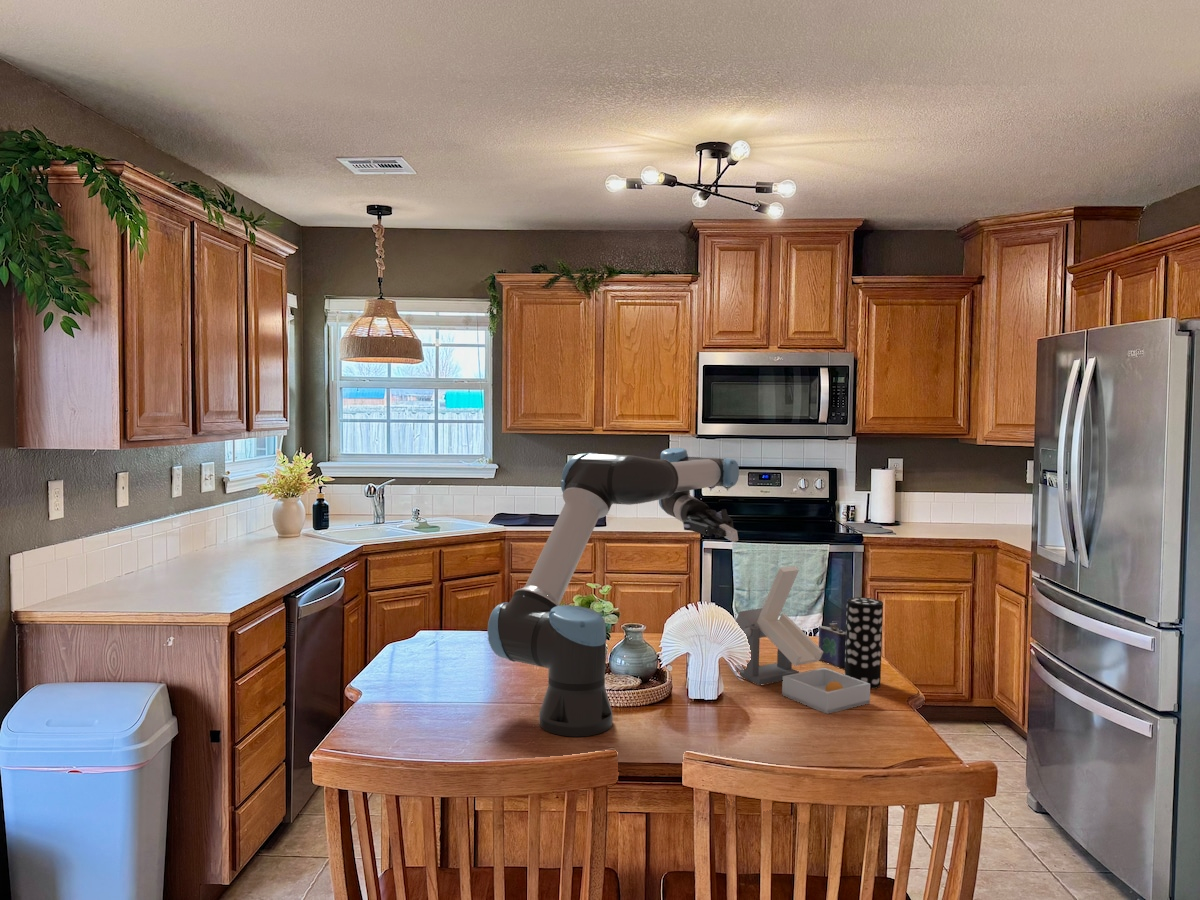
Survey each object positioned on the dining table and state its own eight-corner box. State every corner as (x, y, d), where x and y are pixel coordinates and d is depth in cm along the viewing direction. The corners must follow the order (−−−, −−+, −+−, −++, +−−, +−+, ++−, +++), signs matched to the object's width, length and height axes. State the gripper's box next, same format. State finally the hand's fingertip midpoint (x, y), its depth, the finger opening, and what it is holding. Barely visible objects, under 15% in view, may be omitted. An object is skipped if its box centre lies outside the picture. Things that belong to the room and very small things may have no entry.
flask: (815, 659, 223) (817, 619, 222) (824, 658, 224) (825, 618, 224) (841, 669, 215) (842, 627, 214) (849, 668, 216) (851, 626, 216)
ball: (838, 675, 190) (828, 683, 193) (829, 682, 187) (818, 690, 190) (850, 690, 188) (840, 698, 191) (841, 697, 186) (830, 705, 188)
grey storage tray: (869, 703, 189) (870, 683, 189) (827, 714, 182) (827, 693, 182) (823, 686, 201) (824, 667, 201) (782, 695, 194) (782, 676, 193)
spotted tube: (882, 690, 199) (885, 606, 198) (845, 687, 200) (848, 603, 200) (878, 679, 207) (880, 598, 206) (842, 676, 209) (845, 596, 208)
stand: (801, 676, 208) (802, 624, 207) (756, 686, 200) (758, 632, 199) (777, 668, 214) (779, 617, 214) (734, 677, 207) (735, 624, 206)
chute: (811, 679, 201) (845, 606, 192) (785, 685, 196) (819, 610, 187) (757, 623, 216) (786, 553, 207) (732, 627, 212) (761, 556, 203)
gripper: (715, 519, 232) (759, 543, 210) (672, 531, 228) (713, 557, 206) (712, 493, 230) (756, 515, 208) (669, 505, 226) (709, 529, 204)
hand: (735, 536), depth 207 cm, fingers closed
